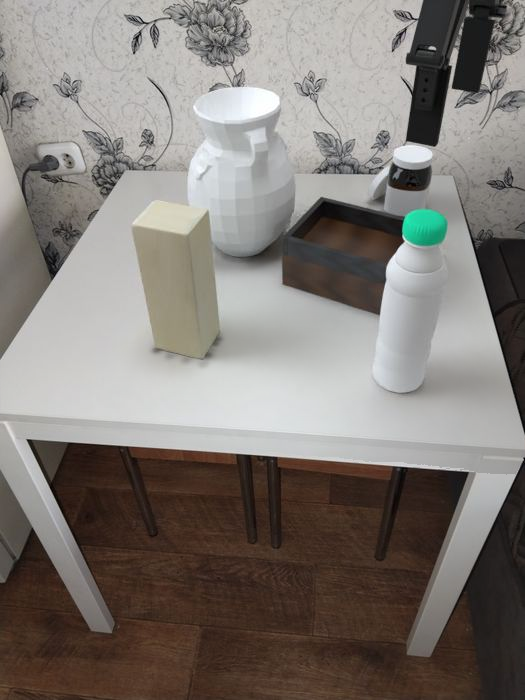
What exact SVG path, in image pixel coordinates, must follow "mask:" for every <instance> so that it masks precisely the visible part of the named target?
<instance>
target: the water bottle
mask: <svg viewBox="0 0 525 700" xmlns="http://www.w3.org/2000/svg"><path fill="white" fill-rule="evenodd" d="M448 225H449V224H448V219H447V218H446V216H445V215H444V214H442V213H441V212H439V211H437V210H434V209H430V208H429V209H428V208H426V209H419V210H414V211H412V212H410V213H409V214H407V215H406V217H405V219H404V223H403V229H402V232H403V239H404V241H405V242H404V243H403V244H402V245H401V246H400V247H399V248H398V250H397V252H396V253H395V254H394V256H393V257H392V258H391V259H390V261H389V263H388V265H387V268H386V279H387V280H386V283H385V288H384V292H383V298H382V304H381V312H380V315H379V323H378V334H377V337H376V341H375V353H374V354H375V355H374V356H373V357H374V358H373V363H372V370H371V371H372V377H373V379H374V381H375V382H376V383H377V384H378V385H379V386H380V387H381V388H382V389H385V390H387V391H389V392H393V393H398V394H399V393H400V394H402V393H403V394H405V393H409V392H413V391H415V390H416V389H418V388H419V387H421V386H422V384H423V383H424V381H425V377H426V373H427V366H428V365H427V364H428V361H429V359H430V354H431V350H432V340H433V337H434V335H435V331H436V327H437V324H438V321H439V316H440V311H441V305H442V301H443V294H444V287H445V286H446V283H447V280H448V276H449V275H448V274H449V273H448V268H447V264H446V261H445V258H444V254H443V251H442V249H441V248H440V246H441V245H442V244H443V243H444V240H445V238H446V235H447V231H448Z"/></svg>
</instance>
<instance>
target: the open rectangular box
mask: <svg viewBox="0 0 525 700" xmlns="http://www.w3.org/2000/svg"><path fill="white" fill-rule="evenodd" d="M404 219H405V217H401V216H397V215H393V214H389V213H385V211H381V210H378V209H377V210H376V209H373V208H369V207H365V206H360V205H356V204H351V203H348V202H344V201H341V200H336V199H333V198H329V197H324V196H320V197H319V198H318V200H316V201H315V202H314V204H313V205H311V207H309V209H308V210H306V211H305V213H304V214H303V215H302V216H301V217H300V218H299V219H298V220H297V221H296V222H295V223H294V224H293V226H292V227H290V228H289V229H288V230H287V232H285V234H284V235H283V236H282V237H281V275H282V276H281V277H282V278H281V280H282V282H281V283H282V285H284V286H287V287H291V288H293V289H297V290H300V291H303V292H306V293H310V294H312V295H315V296H317V297H322V298H325V299H328V300H331V301H334V302H338V303H339V304H344V305H347V306H350V307H353V308H356V309H359V310H363V311H366V312H369V313H372V314H375V315H378V316H380V312H381V304H382V298H383V292H384V288H385V283H386V280H387V279H386V268H387V265H388V263H389V261H390V259H391V258H392V257H393V256H394V254H395V253H396V252H397V250H398V248H399V247H400V246H401V245H402V244H403V243H404V242H405V241H404V239H403V232H402V229H403V223H404Z"/></svg>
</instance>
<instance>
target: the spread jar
mask: <svg viewBox="0 0 525 700" xmlns="http://www.w3.org/2000/svg"><path fill="white" fill-rule="evenodd" d="M433 157H434V154H433V152H432V151H431V150H430V149H429V148H427V147H424V146H421V145H417V144H416V145H415V144H405V145H401V146H398V147H396V148H395V149H394V150H393V154H392V162H391V164H390V165H387V166H385V167H384V168H383V169H382V170H381V171H380V172H379V173H378V174H377V175H376V176H375V178H374V179H373V180H372V181H371V183H370V185H369V187H368V189H367V190H368V191H367V196H368V197H369V198H370V199H372V200H374V201H375V200H378V199H379V198H381V197H382V196H383V195H384V194H385V196H384V203H383V204H384V206H383V212H385V213H389V214H393V215H397V216H401V217H406V215H407V214H409V213H410V212H412V211H414V210H419V209H427V203H428V198H429V193H430V188H431V181H432V175H433V165H432V162H433Z"/></svg>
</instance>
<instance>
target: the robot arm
mask: <svg viewBox="0 0 525 700" xmlns="http://www.w3.org/2000/svg"><path fill="white" fill-rule="evenodd" d="M504 1H505V0H422V3H421V6H420V11H419V15H418V19H417V23H416V27H415V31H414V33H413V34H414V35H413V38H412V42H411V46H410V50H409V52H406V56H405V64H406V65H409V66H415V71H414V72H415V73H414V78H413V79H414V81H413V85H412V93H411V99H410V100H411V101H410V107H409V114H408V122H407V128H406V135H405V142H409V143H413V144H418V145H423V146H428V147H433V148H436V147H437V146H438V145H439V139H440V135H441V129H442V123H443V118H444V113H445V107H446V102H447V97H448V93H449V92H448V91H449V86H450V80H451V75H452V70H453V65H452V64H451V65H450V63H451V57H452V55H453V51H454V48H455V46H456V43H457V40H458V37H459V34H460V30H461V28H462V30H461V36H460V40H459V46H458V50H457V51H458V52H457V57H456V62H455V68H454V73H453V77H452V78H453V79H452V83H451V90H456V91H462V92H463V91H464V92H469V93H474V94H478V93H479V92H480V91H481V87H482V82H483V77H484V72H485V68H486V64H487V59H488V55H489V50H490V46H491V41H492V36H493V32H494V28H495V24H496V19H492V18H497V19H504V18H505V16H506V13H507V9H508V5H507V4H503V3H504ZM467 10H468V14H469V15H471V16H466V13H467ZM465 16H466V17H465ZM472 16H473V17H472ZM430 47H433V48H435V49H431V48H430Z"/></svg>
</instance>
